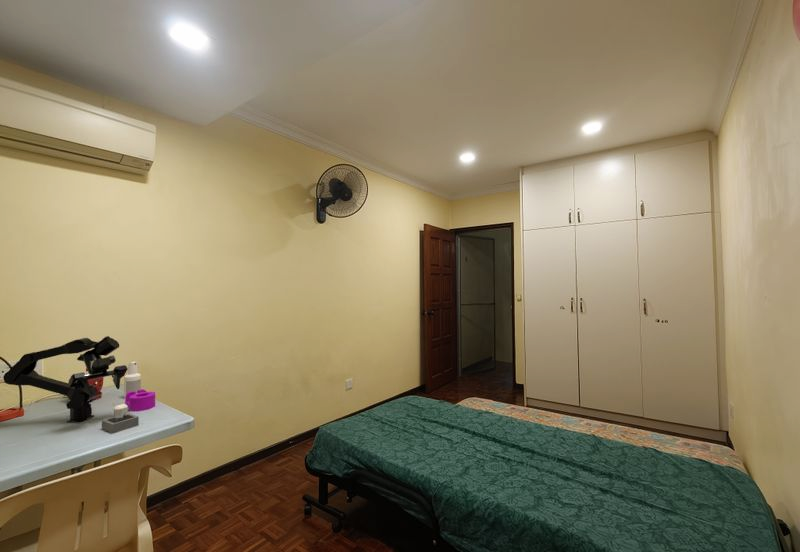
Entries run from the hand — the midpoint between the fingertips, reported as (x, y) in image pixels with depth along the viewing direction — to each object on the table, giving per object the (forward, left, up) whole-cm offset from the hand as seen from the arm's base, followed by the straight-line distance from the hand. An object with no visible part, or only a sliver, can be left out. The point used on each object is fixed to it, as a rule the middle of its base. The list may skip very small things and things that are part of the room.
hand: (105, 391), depth 146 cm
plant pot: (-36, +33, -14) cm, 51 cm away
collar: (+9, -3, -14) cm, 16 cm away
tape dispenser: (-1, +22, -14) cm, 26 cm away
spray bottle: (-15, +36, -14) cm, 41 cm away
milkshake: (+8, -3, -14) cm, 16 cm away
